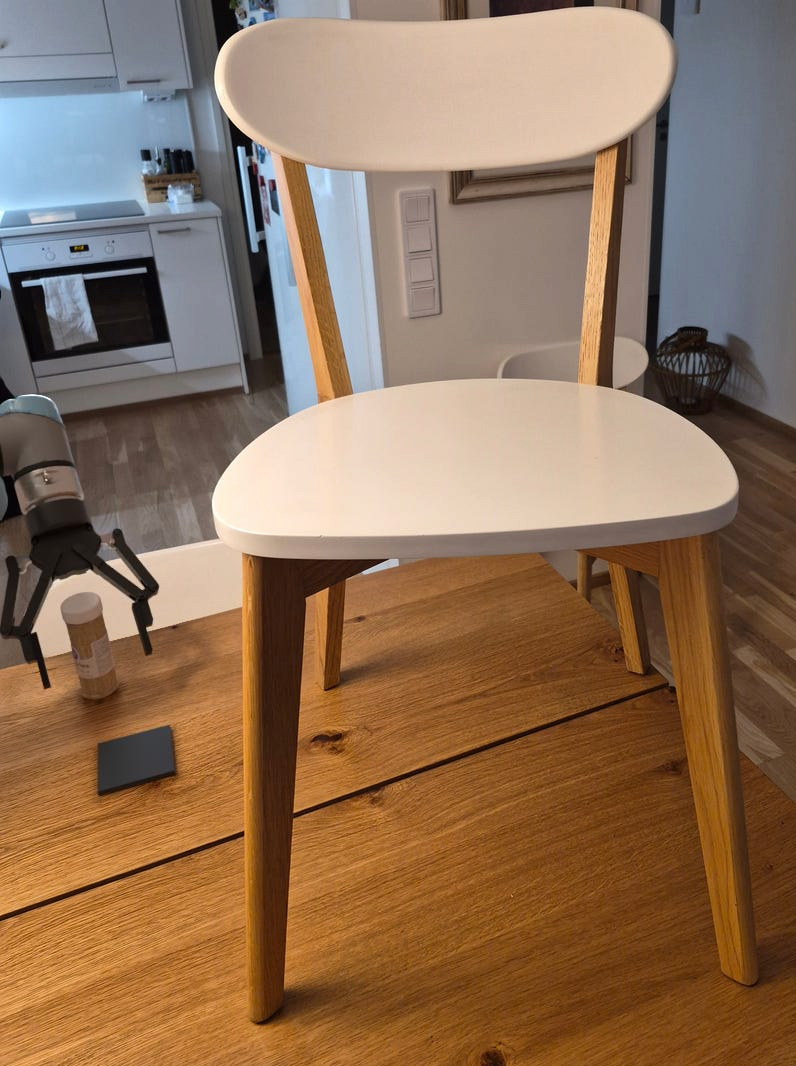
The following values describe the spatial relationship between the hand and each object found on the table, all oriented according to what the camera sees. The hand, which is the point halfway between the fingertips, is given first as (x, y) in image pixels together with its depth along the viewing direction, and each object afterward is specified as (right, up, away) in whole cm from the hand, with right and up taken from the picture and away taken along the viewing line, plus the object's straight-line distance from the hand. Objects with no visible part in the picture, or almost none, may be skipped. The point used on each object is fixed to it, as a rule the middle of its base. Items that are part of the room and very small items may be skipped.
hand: (99, 669), depth 104 cm
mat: (+7, -9, -7) cm, 13 cm away
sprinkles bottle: (-2, -4, +5) cm, 6 cm away
